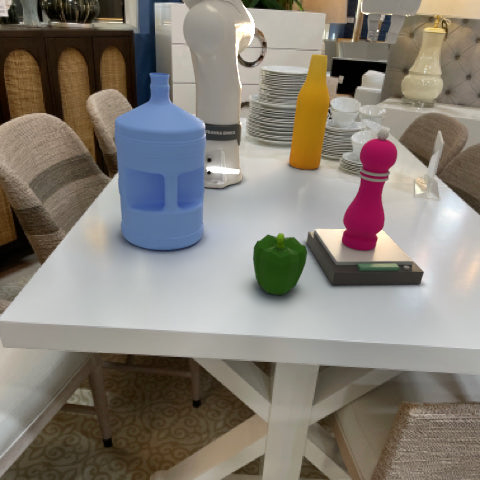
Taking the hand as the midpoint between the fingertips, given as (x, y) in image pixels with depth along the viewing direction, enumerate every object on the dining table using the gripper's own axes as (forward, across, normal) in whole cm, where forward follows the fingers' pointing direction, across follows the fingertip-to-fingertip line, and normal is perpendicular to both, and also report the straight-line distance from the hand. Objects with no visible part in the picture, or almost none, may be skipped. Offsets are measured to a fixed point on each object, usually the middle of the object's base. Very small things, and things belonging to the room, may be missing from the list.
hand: (380, 42), depth 95 cm
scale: (+34, +30, -8) cm, 46 cm away
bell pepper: (+34, +39, -26) cm, 58 cm away
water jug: (+34, +18, -44) cm, 59 cm away
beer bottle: (+34, -34, -2) cm, 48 cm away
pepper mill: (+31, +29, -8) cm, 43 cm away
